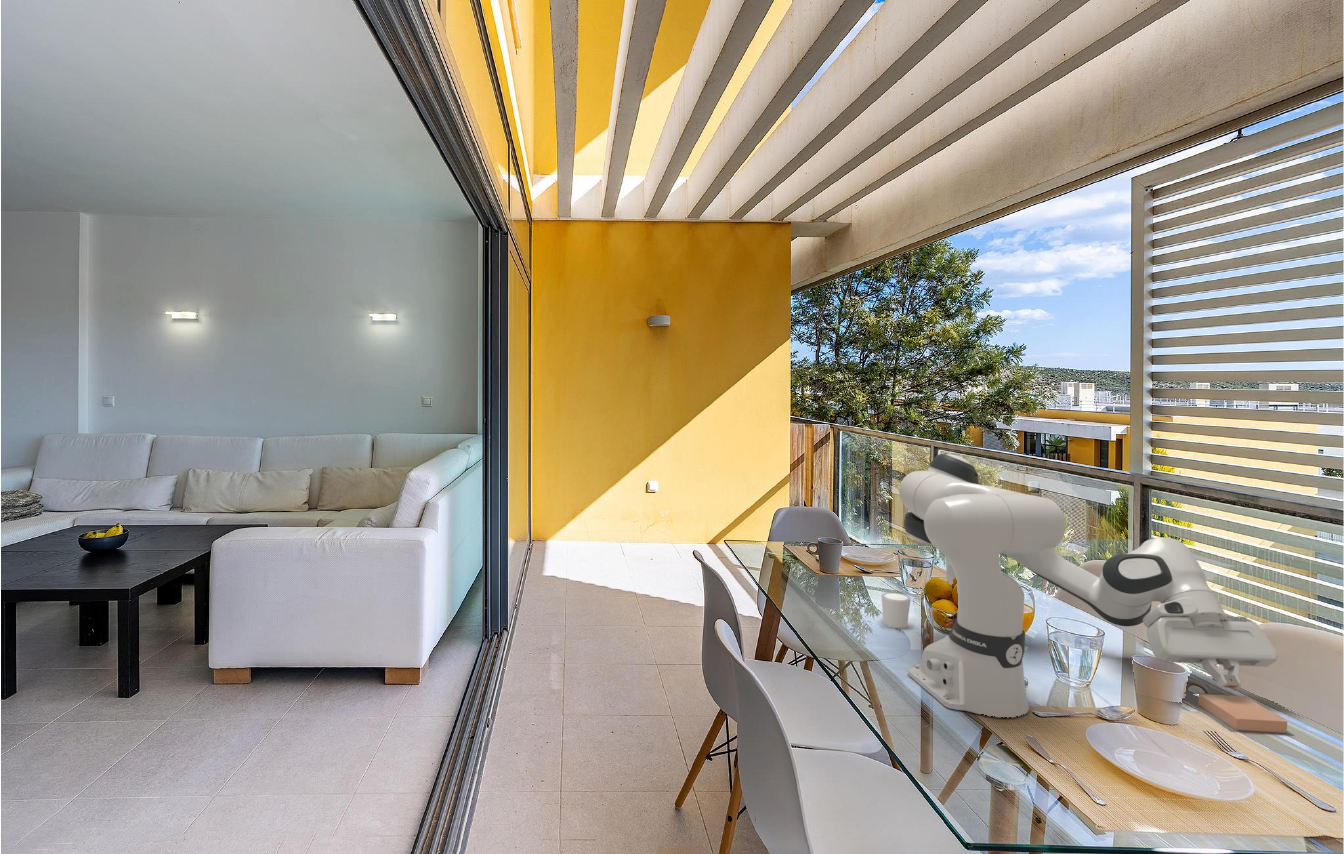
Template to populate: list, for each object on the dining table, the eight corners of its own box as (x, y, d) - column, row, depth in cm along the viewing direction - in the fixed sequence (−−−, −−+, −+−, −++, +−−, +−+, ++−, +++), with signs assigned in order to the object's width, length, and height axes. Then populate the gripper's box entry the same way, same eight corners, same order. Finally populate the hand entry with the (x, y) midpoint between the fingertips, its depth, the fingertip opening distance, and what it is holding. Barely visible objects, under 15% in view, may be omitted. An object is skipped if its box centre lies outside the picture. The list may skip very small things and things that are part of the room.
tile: (1199, 693, 120) (1236, 718, 111) (1245, 696, 119) (1287, 721, 110) (1198, 705, 120) (1236, 730, 111) (1244, 707, 120) (1286, 733, 111)
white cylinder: (906, 631, 157) (907, 602, 156) (877, 625, 161) (878, 597, 160) (912, 622, 163) (913, 595, 162) (884, 617, 166) (885, 590, 166)
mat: (1173, 695, 125) (1173, 691, 125) (1228, 698, 125) (1228, 694, 125) (1230, 735, 111) (1231, 731, 111) (1294, 739, 110) (1294, 734, 110)
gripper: (1242, 624, 129) (1281, 695, 119) (1133, 619, 130) (1163, 689, 121) (1263, 609, 124) (1304, 683, 115) (1149, 605, 125) (1181, 676, 116)
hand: (1230, 686), depth 118 cm, fingers closed
